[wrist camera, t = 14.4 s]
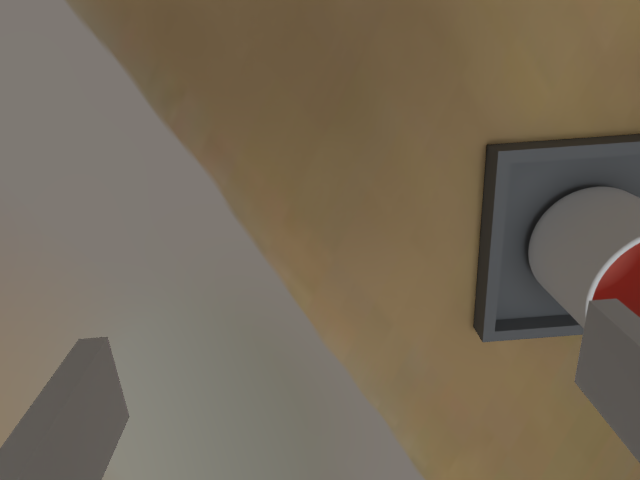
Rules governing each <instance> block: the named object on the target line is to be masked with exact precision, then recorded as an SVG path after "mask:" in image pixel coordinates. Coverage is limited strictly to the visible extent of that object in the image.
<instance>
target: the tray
mask: <svg viewBox="0 0 640 480" xmlns="http://www.w3.org/2000/svg"><path fill="white" fill-rule="evenodd" d="M590 187H613V188H617V189H621V190H624V191H626V192H628V193H631V194H633V195H635V196H637V197H639V198H640V134H634V135H620V136H605V137H591V138H577V139H562V140H548V141H534V142H520V143H505V144H491V145H487V150H486V164H485V177H484V191H483V205H482V218H481V232H480V245H479V259H478V273H477V286H476V300H475V314H474V329H475V330H476V332H477V334H478V335H479V337H480V339H481V340H482V342H490V341H503V340H517V339H530V338H543V337H556V336H569V335H582V334H583V331H584V328H583V327H582V326H581V325H580V324H579V323H578V322H577V321H576V320H575V319H574V318H573V317H572V316H571V315H570V314H569V313H568V312H567V311H566V310H565V309H564V308H563V307H562V306H561V305H560V304H559V303H558V302H557V301H556V300H555V299H554V298H553V297H552V296H551V295H550V294H549V293H548V292H547V291H546V290H545V289H544V288H543V287H542V286H541V284H540V283H539V282H538V281H537V280H536V278H535V276H534V275H533V272H532V270H531V267H530V264H529V257H528V249H529V242H530V238H531V235H532V232H533V230H534V228H535V226H536V224H537V222H538V221H539V219H540V218H541V217H542V215H543V214H544V213H545V212H546V211H547V210H548V209H549V208H550V207H551V206H552V205H553V204H554V203H556V202H557V201H558V200H560V199H561V198H563V197H565V196H567V195H569V194H571V193H573V192H576V191H578V190H581V189H585V188H590Z"/></svg>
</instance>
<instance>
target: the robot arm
mask: <svg viewBox="0 0 640 480" xmlns="http://www.w3.org/2000/svg"><path fill="white" fill-rule="evenodd" d="M575 383H576V384H577V385H578V387H579V388H580V389H581V390H582V392H583V393H584V394H585V395H586V397H587V398H588V399H589V400H590V402H591V403H592V404H593V405H594V407H595V408H596V409H597V410H598V412H599V413H600V414H601V415H602V417H603V418H604V419H605V420H606V422H607V423H608V424H609V425H610V427H611V428H612V429H613V430H614V431H615V433H616V434H617V435H618V436H619V438H620V439H621V440H622V441H623V443H624V444H625V445H626V446H627V448H628V449H629V450H630V451H631V453H632V454H633V455H634V456H635V458H636V459H637V460H638V461H639V463H640V317H639V316H637V315H636V314H635V313H634V312H632V311H631V310H630V309H629V308H628V307H626V306H625V305H624V304H623V303H622V302H620V301H619V300H618V299H617V298H616V299H603V300H590V301H589V303H588V309H587V314H586V320H585V326H584V331H583V337H582V343H581V348H580V354H579V359H578V365H577V371H576V376H575ZM128 418H129V414H128V410H127V406H126V403H125V399H124V396H123V392H122V388H121V385H120V381H119V377H118V374H117V370H116V366H115V362H114V359H113V355H112V352H111V348H110V344H109V340H108V337H100V338H88V339H79V340H78V341H77V342H76V344H75V345H74V347H73V348H72V349H71V351H70V352H69V354H68V355H67V356H66V358H65V359H64V361H63V362H62V363H61V365H60V366H59V368H58V369H57V370H56V372H55V373H54V374H53V376H52V377H51V379H50V380H49V381H48V383H47V384H46V386H45V387H44V388H43V390H42V391H41V393H40V394H39V395H38V397H37V398H36V400H35V401H34V402H33V404H32V405H31V406H30V408H29V409H28V411H27V412H26V414H25V415H24V416H23V418H22V419H21V420H20V422H19V423H18V425H17V426H16V427H15V429H14V430H13V432H12V433H11V434H10V436H9V437H8V438H7V440H6V441H5V443H4V444H3V445H2V447H1V448H0V480H101V479H102V477H103V475H104V473H105V471H106V468H107V466H108V464H109V461H110V459H111V457H112V455H113V452H114V450H115V448H116V446H117V443H118V440H119V439H120V437H121V434H122V432H123V430H124V427H125V425H126V423H127V421H128Z"/></svg>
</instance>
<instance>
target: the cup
mask: <svg viewBox="0 0 640 480" xmlns="http://www.w3.org/2000/svg"><path fill="white" fill-rule="evenodd" d="M528 257H529V264H530V267H531V270H532V272H533V275H534V276H535V278H536V280H537V281H538V282H539V283H540V284H541V286H542V287H543V288H544V289H545V290H546V291H547V292H548V293H549V294H550V295H551V296H552V297H553V298H554V299H555V300H556V301H557V302H558V303H559V304H560V305H561V306H562V307H563V308H564V309H565V310H566V311H567V312H568V313H569V314H570V315H571V316H572V317H573V318H574V319H575V320H576V321H577V322H578V323H579V324H580V325H581V326H582V327H583V328H584V326H585V320H586V314H587V309H588V303H589V301H590V300H603V299H616V298H617V299H618V300H619V301H620V302H622V303H623V304H624V305H625V306H626V307H628V308H629V309H630V310H631V311H632V312H634V313H635V314H636V315H637V316H639V317H640V198H639V197H637V196H635V195H633V194H631V193H628V192H626V191H624V190H621V189H617V188H613V187H590V188H585V189H581V190H578V191H576V192H573V193H571V194H569V195H567V196H565V197H563V198H561V199H560V200H558V201H557V202H556V203H554V204H553V205H552V206H551V207H550V208H549V209H548V210H547V211H546V212H545V213H544V214H543V215H542V217H541V218H540V219H539V221H538V222H537V224H536V226H535V228H534V230H533V232H532V235H531V238H530V242H529V249H528Z"/></svg>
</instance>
